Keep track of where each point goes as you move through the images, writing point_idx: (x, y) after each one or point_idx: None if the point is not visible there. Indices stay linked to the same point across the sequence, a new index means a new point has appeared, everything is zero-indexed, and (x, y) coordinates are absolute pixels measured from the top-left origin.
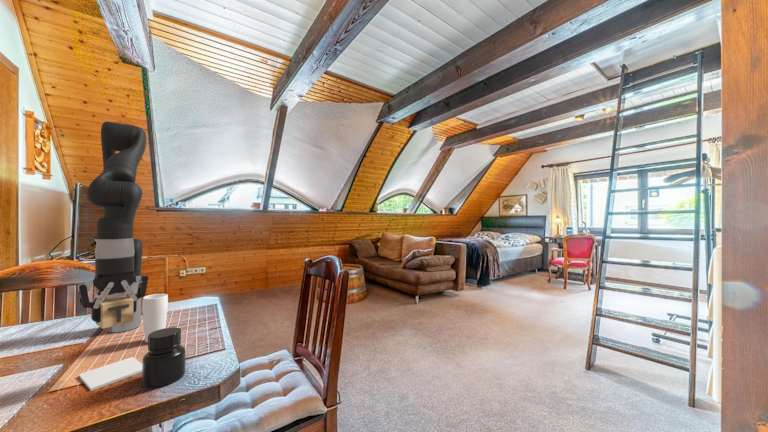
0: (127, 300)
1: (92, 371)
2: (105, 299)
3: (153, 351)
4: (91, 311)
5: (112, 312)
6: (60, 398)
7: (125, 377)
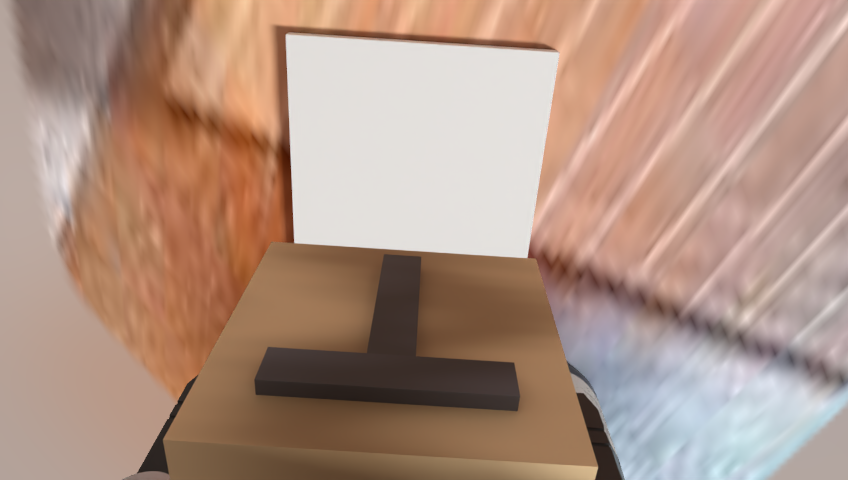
0: None
1: (344, 65)
2: (294, 453)
3: None
4: (151, 455)
5: None
6: (202, 223)
7: None
